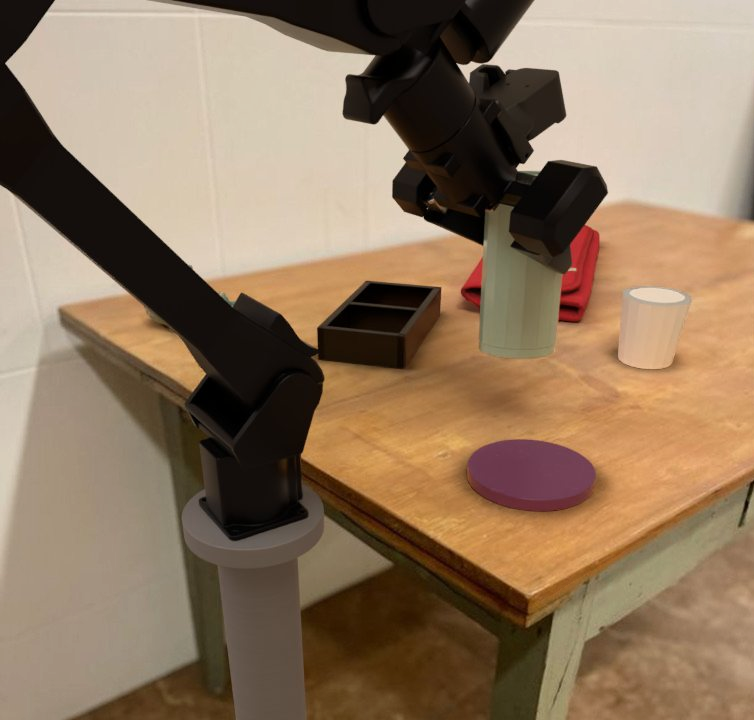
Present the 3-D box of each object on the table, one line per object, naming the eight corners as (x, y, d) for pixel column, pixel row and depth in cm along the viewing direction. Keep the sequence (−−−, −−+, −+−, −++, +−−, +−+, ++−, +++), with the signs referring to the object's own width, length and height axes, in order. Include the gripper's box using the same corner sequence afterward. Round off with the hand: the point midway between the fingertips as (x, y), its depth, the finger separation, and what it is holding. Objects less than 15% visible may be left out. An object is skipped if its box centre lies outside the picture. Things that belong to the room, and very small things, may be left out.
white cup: (633, 343, 91) (644, 280, 87) (690, 359, 87) (704, 294, 83) (599, 359, 87) (609, 293, 83) (657, 376, 83) (671, 309, 79)
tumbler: (510, 363, 66) (523, 175, 60) (463, 346, 71) (471, 172, 65) (571, 352, 69) (589, 173, 63) (522, 337, 74) (534, 169, 68)
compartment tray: (403, 369, 84) (404, 336, 82) (317, 359, 86) (316, 327, 84) (440, 315, 99) (441, 286, 97) (365, 308, 101) (365, 280, 99)
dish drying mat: (600, 243, 130) (604, 218, 128) (586, 323, 96) (591, 292, 94) (502, 236, 133) (504, 212, 131) (455, 311, 100) (457, 281, 98)
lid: (524, 525, 59) (526, 513, 58) (441, 469, 66) (442, 458, 65) (621, 488, 63) (623, 477, 63) (534, 439, 71) (535, 429, 70)
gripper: (613, 26, 50) (688, 200, 61) (427, 20, 62) (518, 164, 74) (503, 175, 50) (599, 320, 61) (341, 139, 63) (444, 264, 74)
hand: (536, 259), depth 67 cm, fingers closed on tumbler, 7 cm apart
